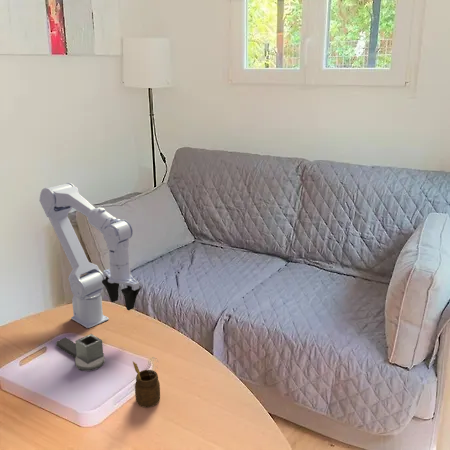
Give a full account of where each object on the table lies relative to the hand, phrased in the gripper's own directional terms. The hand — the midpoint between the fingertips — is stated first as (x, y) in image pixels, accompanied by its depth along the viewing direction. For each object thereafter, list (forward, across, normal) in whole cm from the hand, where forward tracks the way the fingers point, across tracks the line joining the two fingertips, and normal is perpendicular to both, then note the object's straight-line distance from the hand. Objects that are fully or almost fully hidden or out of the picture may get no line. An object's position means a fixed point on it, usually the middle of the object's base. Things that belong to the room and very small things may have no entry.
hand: (122, 304), depth 151 cm
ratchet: (+9, +1, -16) cm, 19 cm away
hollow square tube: (+8, +6, -16) cm, 19 cm away
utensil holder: (+10, +30, -16) cm, 35 cm away
